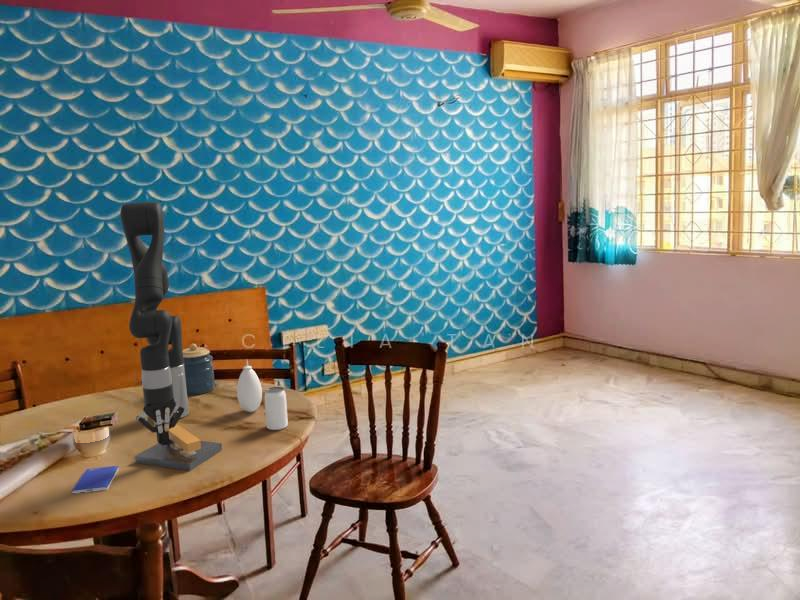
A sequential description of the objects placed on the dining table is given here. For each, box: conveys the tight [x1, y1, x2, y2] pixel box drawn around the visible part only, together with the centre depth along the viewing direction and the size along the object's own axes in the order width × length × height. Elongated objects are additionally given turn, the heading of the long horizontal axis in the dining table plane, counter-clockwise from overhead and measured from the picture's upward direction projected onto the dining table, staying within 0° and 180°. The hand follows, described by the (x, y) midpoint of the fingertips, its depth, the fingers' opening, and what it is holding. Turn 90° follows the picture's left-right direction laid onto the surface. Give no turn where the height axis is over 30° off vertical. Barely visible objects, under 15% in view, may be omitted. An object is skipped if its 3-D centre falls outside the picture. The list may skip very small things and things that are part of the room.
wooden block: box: [169, 423, 201, 453], centre depth 180 cm, size 20×4×5 cm, turn 40°
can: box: [264, 386, 289, 431], centre depth 198 cm, size 6×6×12 cm
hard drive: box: [71, 465, 120, 494], centre depth 166 cm, size 2×8×12 cm
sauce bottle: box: [236, 359, 263, 413], centre depth 212 cm, size 8×8×18 cm
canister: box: [183, 343, 216, 396], centre depth 238 cm, size 13×13×18 cm
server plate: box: [134, 440, 223, 472], centre depth 179 cm, size 18×14×2 cm
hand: (163, 444), depth 177 cm, fingers closed
